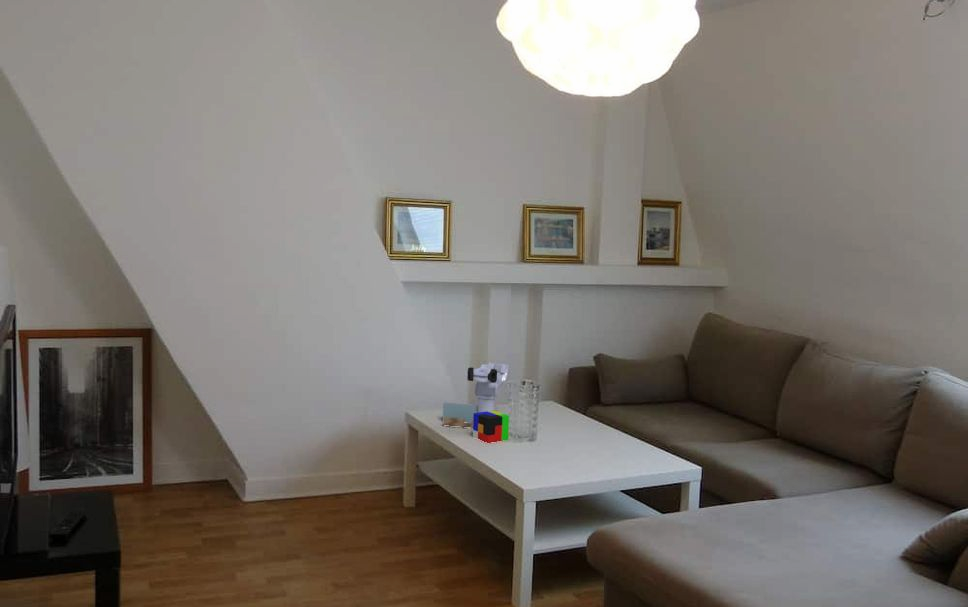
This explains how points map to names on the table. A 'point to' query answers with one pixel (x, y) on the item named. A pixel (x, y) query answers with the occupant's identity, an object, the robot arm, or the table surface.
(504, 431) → the puzzle toy
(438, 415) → the table surface
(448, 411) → the teal slotted plate
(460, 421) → the walnut slotted plate
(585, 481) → the table surface
